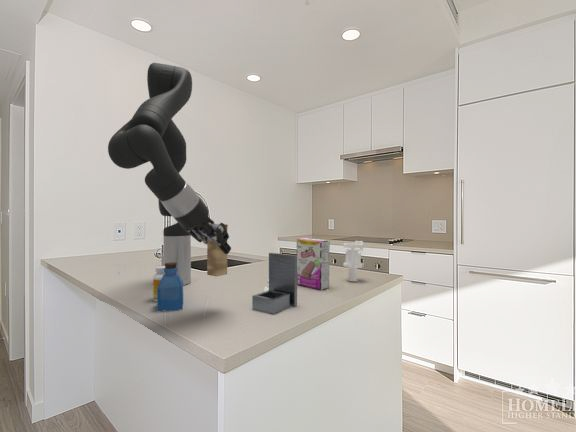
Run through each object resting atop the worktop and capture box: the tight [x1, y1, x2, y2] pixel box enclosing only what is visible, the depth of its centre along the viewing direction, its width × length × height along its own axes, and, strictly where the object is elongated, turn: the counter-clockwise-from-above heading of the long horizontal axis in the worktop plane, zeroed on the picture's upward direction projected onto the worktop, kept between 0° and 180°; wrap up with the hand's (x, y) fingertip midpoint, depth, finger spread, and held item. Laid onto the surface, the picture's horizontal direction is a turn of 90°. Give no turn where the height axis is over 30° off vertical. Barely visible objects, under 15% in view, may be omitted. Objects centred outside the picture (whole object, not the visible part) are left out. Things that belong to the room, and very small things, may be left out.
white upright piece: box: [342, 240, 364, 282], centre depth 118 cm, size 7×7×15 cm
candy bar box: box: [296, 237, 331, 291], centre depth 109 cm, size 11×5×16 cm, turn 47°
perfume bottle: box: [156, 262, 184, 312], centre depth 86 cm, size 6×6×12 cm
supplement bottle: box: [152, 265, 165, 302], centre depth 93 cm, size 5×5×10 cm
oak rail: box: [206, 223, 228, 277], centre depth 83 cm, size 4×4×13 cm
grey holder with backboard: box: [251, 252, 298, 315], centre depth 86 cm, size 9×9×14 cm
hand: (222, 250), depth 85 cm, fingers closed on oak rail, 3 cm apart
